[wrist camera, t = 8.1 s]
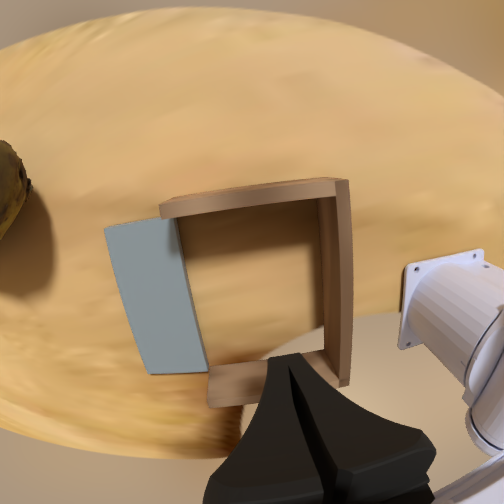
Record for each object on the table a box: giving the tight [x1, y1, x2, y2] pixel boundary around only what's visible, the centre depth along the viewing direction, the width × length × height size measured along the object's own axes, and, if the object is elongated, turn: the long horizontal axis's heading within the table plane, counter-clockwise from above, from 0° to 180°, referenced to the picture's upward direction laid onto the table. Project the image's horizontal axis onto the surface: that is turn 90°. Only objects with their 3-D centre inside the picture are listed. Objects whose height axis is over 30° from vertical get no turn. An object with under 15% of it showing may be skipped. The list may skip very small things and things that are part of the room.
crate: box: [159, 177, 353, 408], centre depth 19 cm, size 10×14×4 cm
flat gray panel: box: [104, 217, 209, 374], centre depth 20 cm, size 1×12×5 cm
